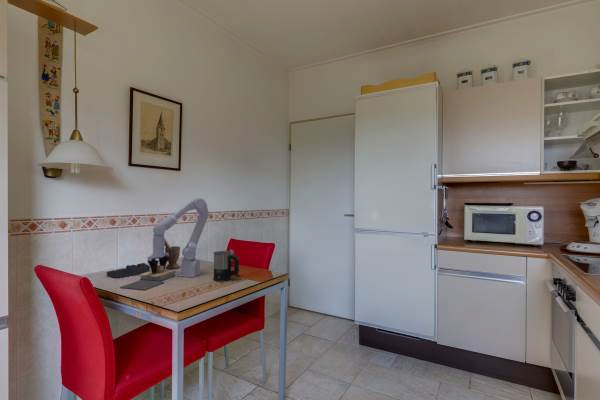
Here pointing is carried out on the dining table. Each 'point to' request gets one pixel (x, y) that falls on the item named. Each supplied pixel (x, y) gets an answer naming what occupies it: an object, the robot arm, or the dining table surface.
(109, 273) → the dark slate chunk
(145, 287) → the mat
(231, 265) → the food container
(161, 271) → the lid
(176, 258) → the mortar and pestle
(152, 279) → the dish
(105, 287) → the dining table surface
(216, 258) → the milk frother
